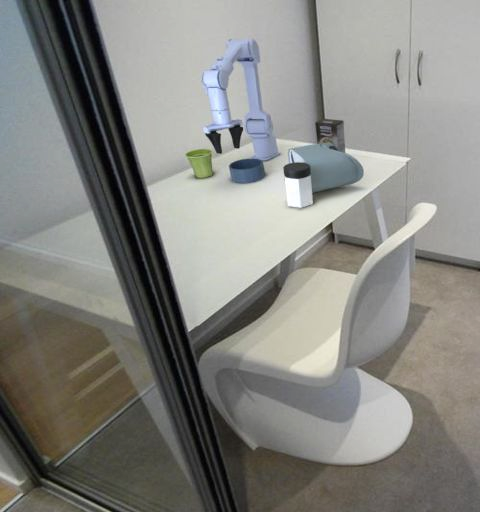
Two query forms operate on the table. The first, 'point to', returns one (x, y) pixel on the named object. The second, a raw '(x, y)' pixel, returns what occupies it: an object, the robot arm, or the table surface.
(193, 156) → the plant pot
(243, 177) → the tub
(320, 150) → the grey-blue rounded tapered piece
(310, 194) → the jar
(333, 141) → the coffee box
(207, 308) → the table surface
